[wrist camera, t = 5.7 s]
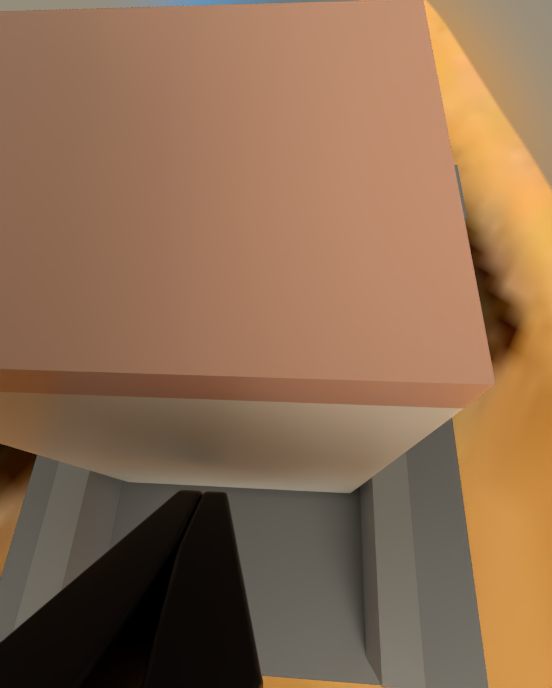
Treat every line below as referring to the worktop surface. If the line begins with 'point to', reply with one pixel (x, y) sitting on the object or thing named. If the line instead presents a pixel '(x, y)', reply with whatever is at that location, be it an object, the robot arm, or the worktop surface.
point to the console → (295, 564)
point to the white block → (231, 243)
